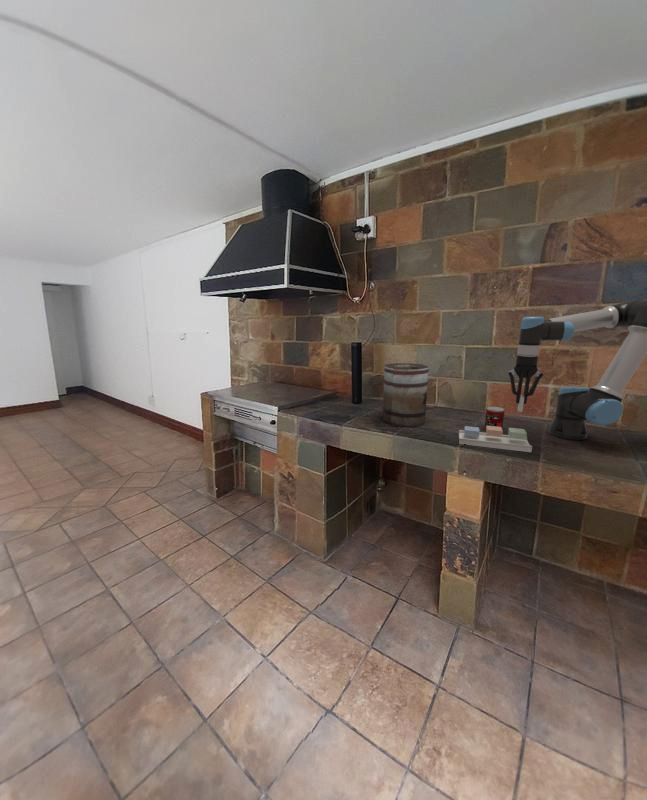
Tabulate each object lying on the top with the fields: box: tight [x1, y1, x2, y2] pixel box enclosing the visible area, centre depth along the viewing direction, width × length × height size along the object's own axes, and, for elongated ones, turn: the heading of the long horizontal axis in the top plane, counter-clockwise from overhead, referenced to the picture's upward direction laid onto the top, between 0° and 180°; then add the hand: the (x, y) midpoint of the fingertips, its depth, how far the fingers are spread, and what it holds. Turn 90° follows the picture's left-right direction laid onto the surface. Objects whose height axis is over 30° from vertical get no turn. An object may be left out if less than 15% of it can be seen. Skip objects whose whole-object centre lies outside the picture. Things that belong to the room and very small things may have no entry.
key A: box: [507, 427, 528, 439], centre depth 146 cm, size 6×6×3 cm
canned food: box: [484, 406, 506, 431], centre depth 166 cm, size 8×8×11 cm
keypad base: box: [458, 429, 533, 453], centre depth 150 cm, size 28×12×3 cm, turn 69°
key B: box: [485, 426, 504, 437], centre depth 149 cm, size 6×6×3 cm
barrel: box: [382, 362, 430, 429], centre depth 179 cm, size 22×22×30 cm
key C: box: [463, 425, 481, 437], centre depth 152 cm, size 6×6×3 cm
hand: (519, 410), depth 143 cm, fingers closed
